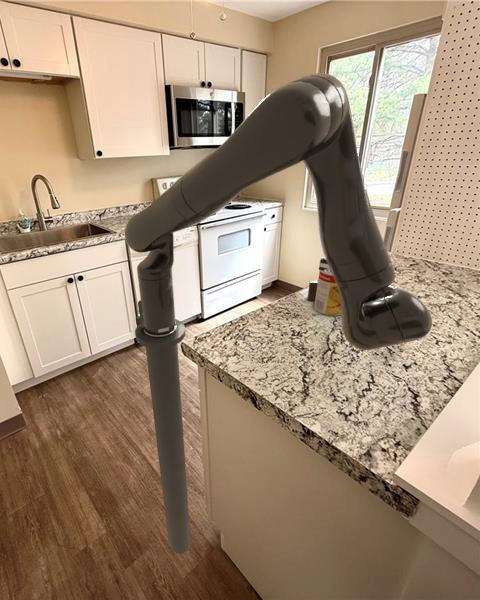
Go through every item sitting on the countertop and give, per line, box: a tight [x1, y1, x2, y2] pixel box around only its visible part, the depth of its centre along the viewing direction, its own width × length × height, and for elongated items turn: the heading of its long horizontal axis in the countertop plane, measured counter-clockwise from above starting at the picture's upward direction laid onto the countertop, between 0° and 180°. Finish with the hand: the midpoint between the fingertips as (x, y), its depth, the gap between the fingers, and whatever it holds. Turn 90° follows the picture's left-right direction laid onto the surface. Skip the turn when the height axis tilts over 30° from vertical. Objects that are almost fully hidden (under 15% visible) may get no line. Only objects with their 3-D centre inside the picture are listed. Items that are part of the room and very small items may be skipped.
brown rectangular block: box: [306, 279, 318, 302], centre depth 93 cm, size 10×2×6 cm, turn 68°
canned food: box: [313, 269, 341, 317], centre depth 87 cm, size 8×8×12 cm
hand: (344, 252), depth 74 cm, fingers closed
